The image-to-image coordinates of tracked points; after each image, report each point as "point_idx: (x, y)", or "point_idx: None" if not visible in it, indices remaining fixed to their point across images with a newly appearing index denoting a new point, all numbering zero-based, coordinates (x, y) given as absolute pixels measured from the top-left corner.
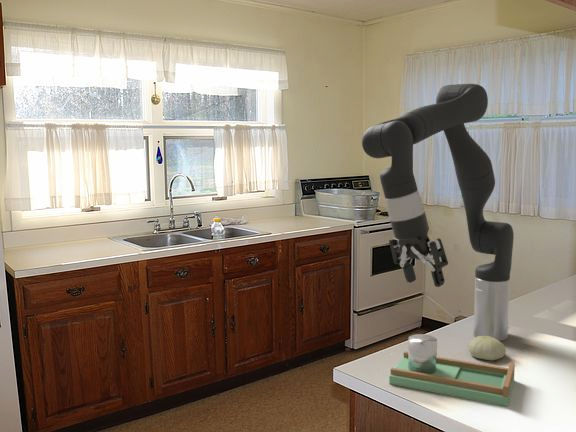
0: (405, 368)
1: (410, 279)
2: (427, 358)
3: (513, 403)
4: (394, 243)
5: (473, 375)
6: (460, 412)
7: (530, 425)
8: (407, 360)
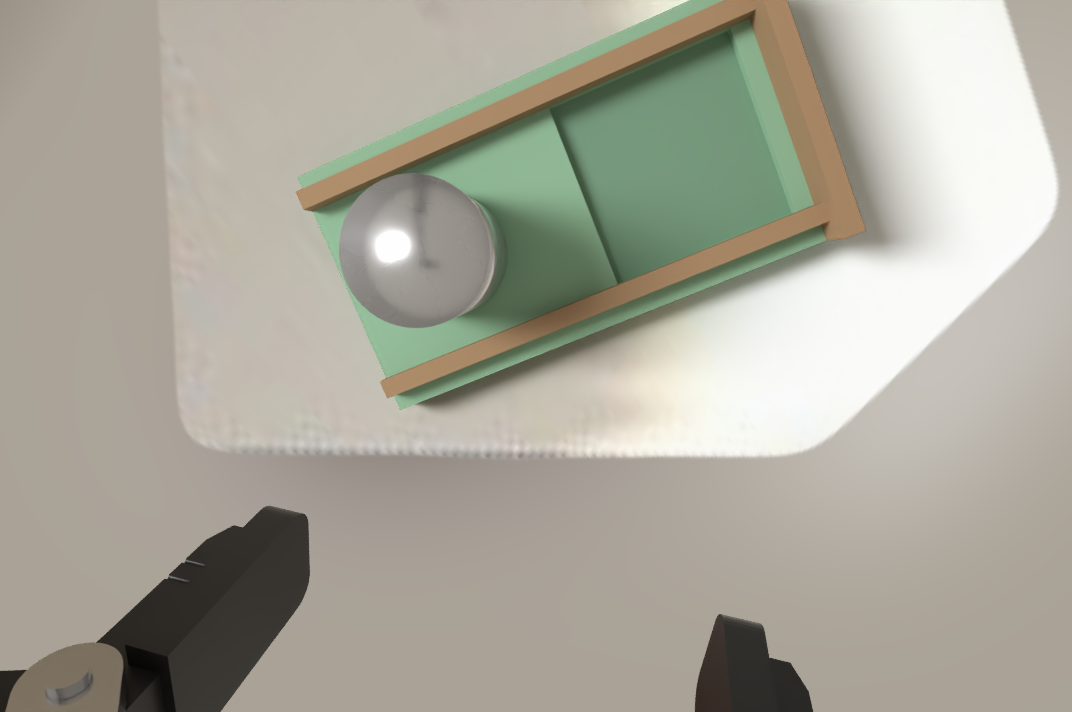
0: None
1: (290, 595)
2: (488, 291)
3: None
4: None
5: (625, 126)
6: (725, 399)
7: (951, 304)
8: None
